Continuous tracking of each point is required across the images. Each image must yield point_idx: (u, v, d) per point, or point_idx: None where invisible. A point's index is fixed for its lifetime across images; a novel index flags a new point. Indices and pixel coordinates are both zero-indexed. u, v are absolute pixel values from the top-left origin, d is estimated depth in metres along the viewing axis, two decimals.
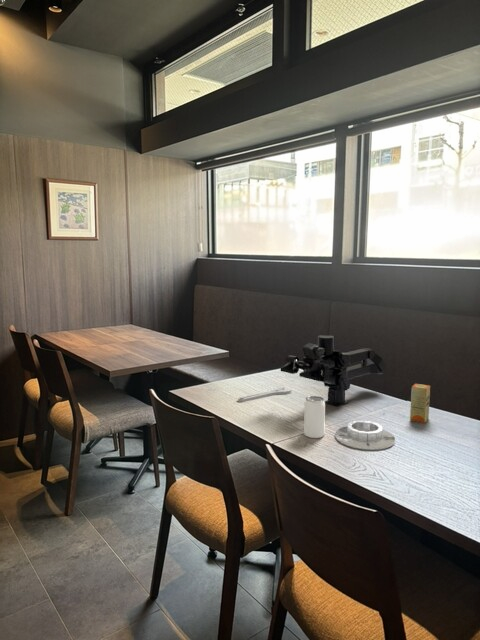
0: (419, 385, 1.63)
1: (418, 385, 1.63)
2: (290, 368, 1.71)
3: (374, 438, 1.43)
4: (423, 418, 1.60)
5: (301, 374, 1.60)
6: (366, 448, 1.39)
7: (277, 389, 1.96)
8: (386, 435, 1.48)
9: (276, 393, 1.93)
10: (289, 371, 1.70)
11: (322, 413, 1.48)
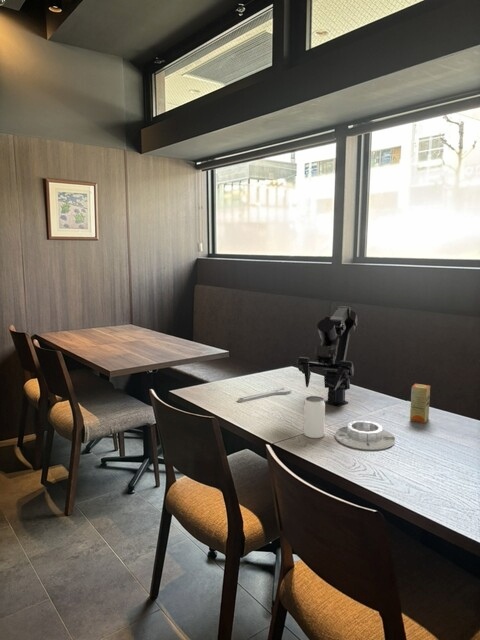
0: (419, 385, 1.63)
1: (418, 385, 1.63)
2: (309, 374, 1.61)
3: (374, 438, 1.43)
4: (423, 418, 1.60)
5: (335, 388, 1.54)
6: (366, 448, 1.39)
7: (277, 389, 1.96)
8: (386, 435, 1.48)
9: (276, 393, 1.93)
10: (309, 377, 1.61)
11: (322, 413, 1.48)
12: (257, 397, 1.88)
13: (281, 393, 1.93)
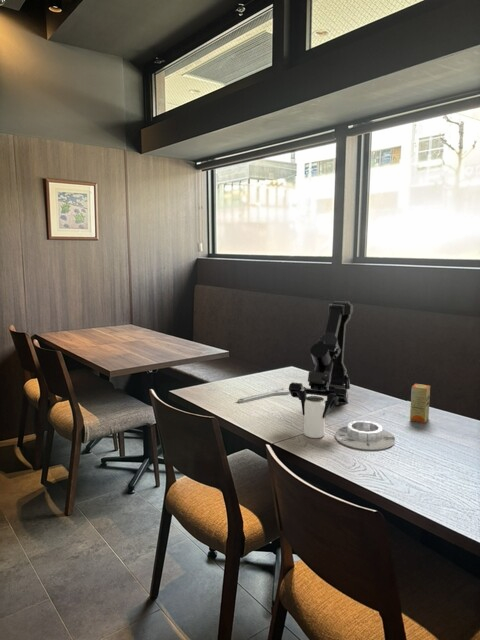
0: (419, 385, 1.63)
1: (418, 385, 1.63)
2: None
3: (374, 438, 1.43)
4: (423, 418, 1.60)
5: (324, 416, 1.48)
6: (366, 448, 1.39)
7: (276, 390, 1.95)
8: (386, 435, 1.48)
9: (276, 394, 1.92)
10: None
11: (322, 413, 1.48)
12: (257, 398, 1.87)
13: (281, 393, 1.92)
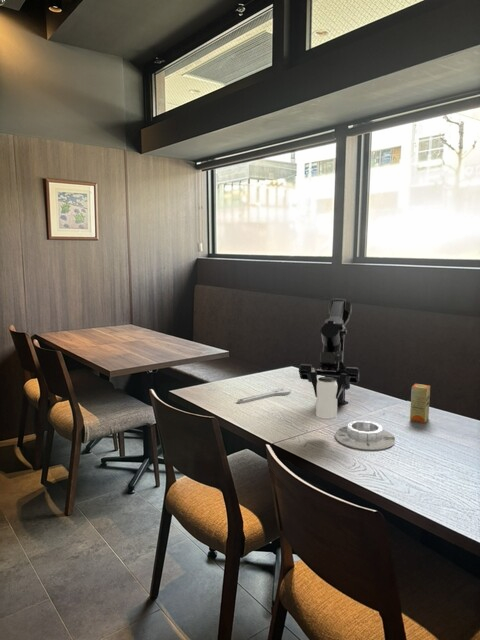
0: (419, 385, 1.63)
1: (418, 385, 1.63)
2: None
3: (374, 438, 1.43)
4: (423, 418, 1.60)
5: (338, 396, 1.46)
6: (366, 448, 1.39)
7: (276, 390, 1.95)
8: (386, 435, 1.48)
9: (275, 394, 1.91)
10: None
11: (336, 393, 1.46)
12: (257, 398, 1.86)
13: (280, 394, 1.92)
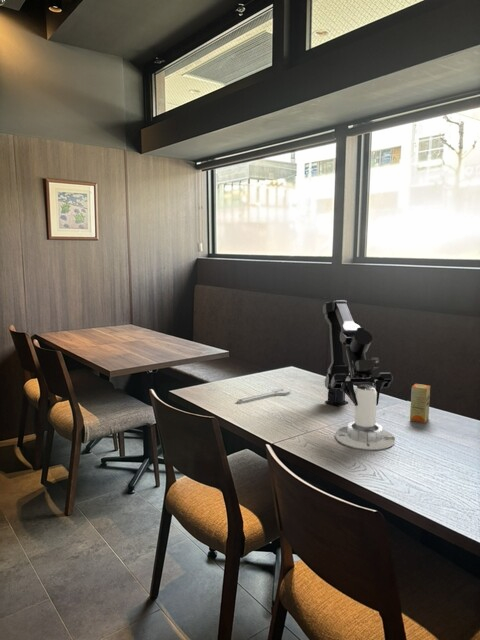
0: (419, 385, 1.63)
1: (418, 385, 1.63)
2: None
3: (374, 438, 1.43)
4: (423, 418, 1.60)
5: None
6: (366, 448, 1.39)
7: (276, 390, 1.95)
8: (386, 435, 1.48)
9: (275, 394, 1.91)
10: None
11: (376, 400, 1.45)
12: (256, 398, 1.86)
13: (280, 394, 1.92)
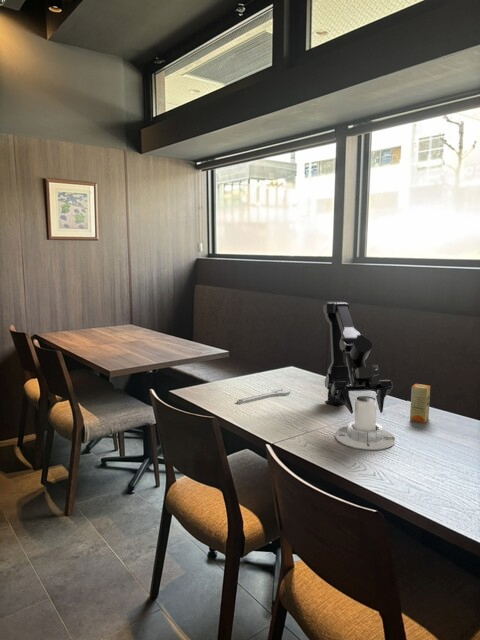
0: (419, 385, 1.63)
1: (419, 385, 1.63)
2: None
3: (374, 438, 1.43)
4: (423, 418, 1.60)
5: None
6: (366, 448, 1.39)
7: (276, 390, 1.94)
8: (386, 435, 1.48)
9: (275, 394, 1.91)
10: None
11: None
12: (256, 398, 1.86)
13: (280, 394, 1.91)
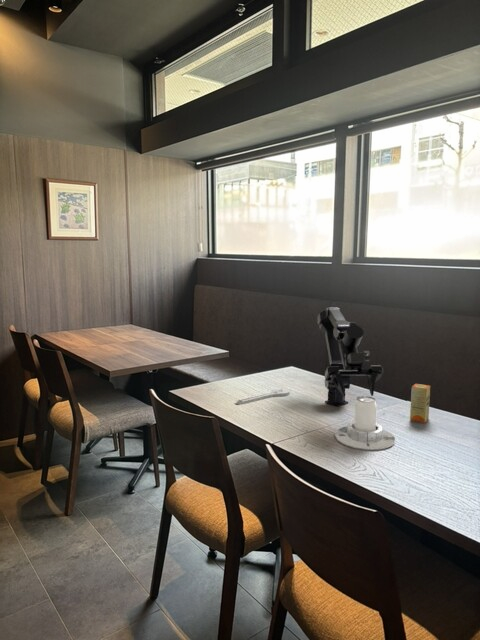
0: (419, 385, 1.63)
1: (418, 385, 1.63)
2: None
3: (374, 438, 1.43)
4: (423, 418, 1.60)
5: (373, 393, 1.54)
6: (366, 448, 1.39)
7: (275, 391, 1.94)
8: (386, 435, 1.48)
9: (274, 395, 1.90)
10: None
11: None
12: (256, 399, 1.85)
13: (280, 395, 1.91)
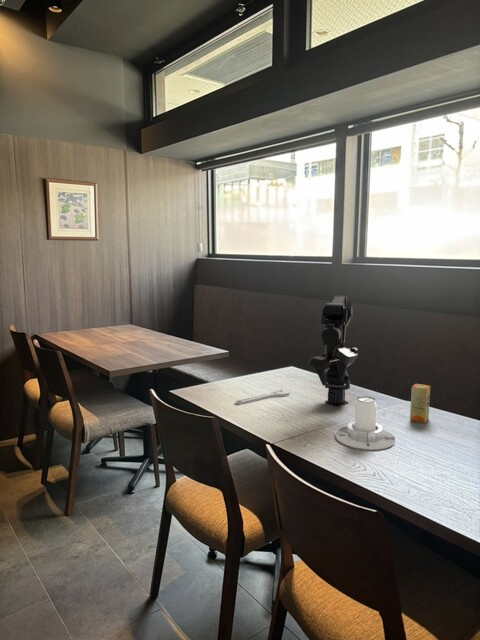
0: (419, 385, 1.63)
1: (419, 385, 1.63)
2: None
3: (374, 438, 1.43)
4: (423, 418, 1.60)
5: None
6: (366, 448, 1.39)
7: (275, 391, 1.93)
8: (386, 435, 1.48)
9: (274, 395, 1.90)
10: None
11: None
12: (255, 399, 1.85)
13: (279, 395, 1.90)
